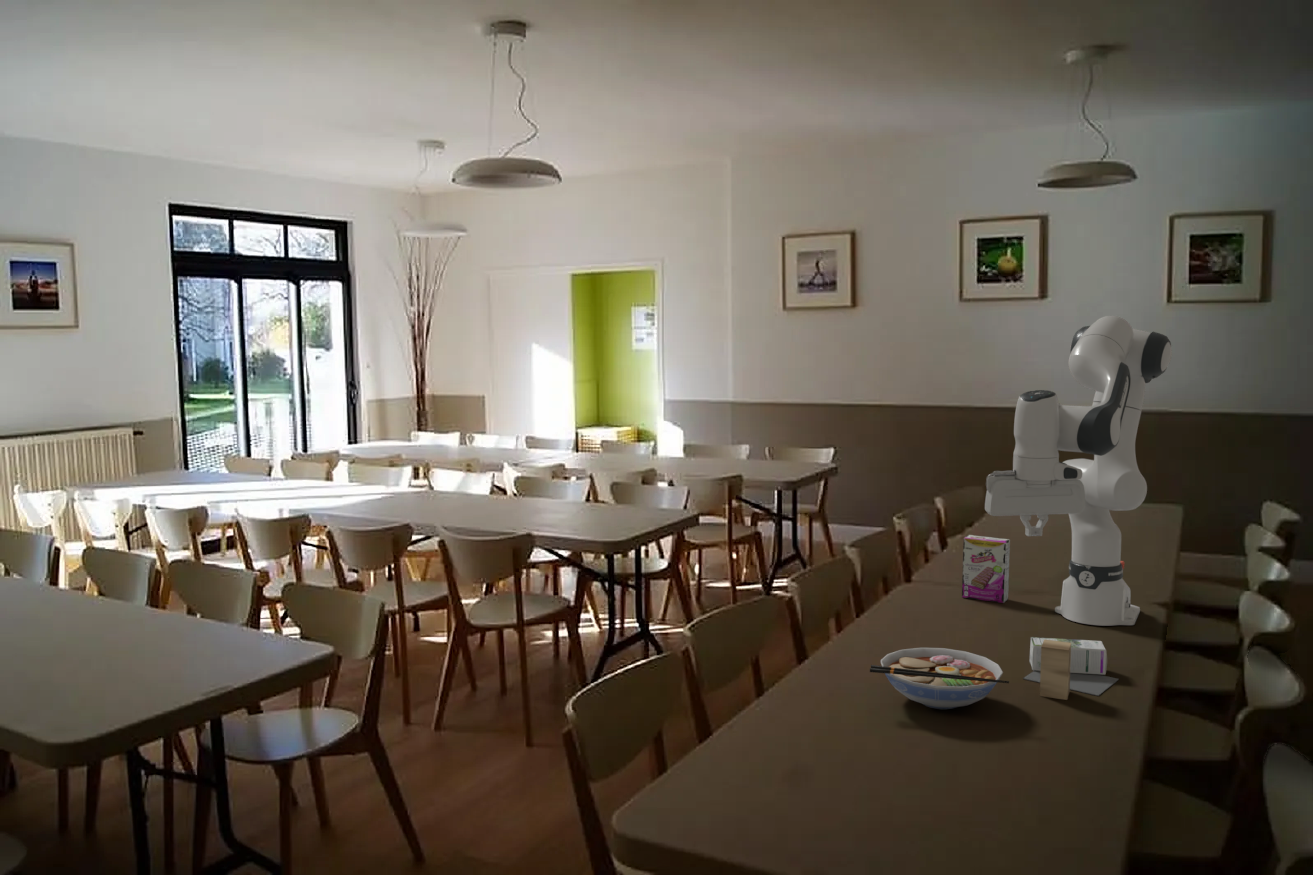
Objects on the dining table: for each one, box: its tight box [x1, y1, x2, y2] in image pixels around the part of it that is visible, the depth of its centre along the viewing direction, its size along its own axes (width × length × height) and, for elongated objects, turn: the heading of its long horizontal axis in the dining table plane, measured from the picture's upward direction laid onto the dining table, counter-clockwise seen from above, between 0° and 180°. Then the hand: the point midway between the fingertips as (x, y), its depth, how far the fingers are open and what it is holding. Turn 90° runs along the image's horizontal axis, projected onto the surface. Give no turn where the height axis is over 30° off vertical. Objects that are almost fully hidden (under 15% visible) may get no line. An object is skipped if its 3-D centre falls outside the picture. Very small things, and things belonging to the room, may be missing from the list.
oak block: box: [1039, 639, 1071, 701], centre depth 200 cm, size 5×5×10 cm
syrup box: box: [1029, 636, 1108, 676], centre depth 214 cm, size 6×6×14 cm
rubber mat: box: [1022, 670, 1120, 697], centre depth 209 cm, size 12×15×1 cm
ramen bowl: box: [869, 647, 1010, 710], centre depth 197 cm, size 25×23×8 cm
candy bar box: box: [961, 534, 1011, 604], centre depth 269 cm, size 11×5×16 cm, turn 58°
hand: (1033, 535), depth 211 cm, fingers closed
